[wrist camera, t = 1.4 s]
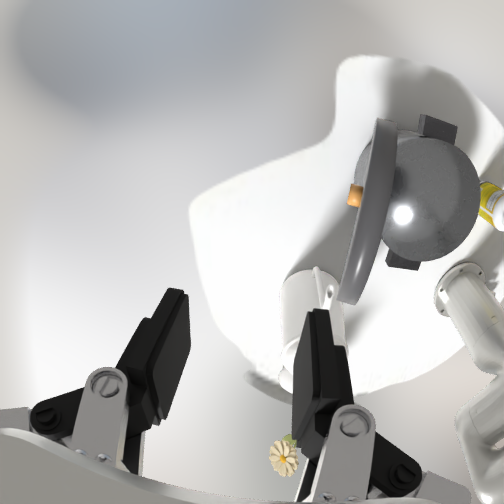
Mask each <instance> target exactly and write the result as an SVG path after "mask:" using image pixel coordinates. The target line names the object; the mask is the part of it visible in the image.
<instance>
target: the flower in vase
mask: <svg viewBox="0 0 504 504" xmlns="http://www.w3.org/2000/svg"><path fill="white" fill-rule="evenodd" d="M278 380H279V382H280V384H281V386H282V387H283V388H284V389H285V390H287V391H288V392H290V393H292V394H293V374H291V373H290V372H289V370H287V369H286V368H285V367H284V368H283V369H282V370H281V371H280V373H279V376H278ZM296 442H297V440H292V435H291V434H288V435H286V436H285V437H284V438H283V439H282V441H275V443H274V445H275V447H274V446H271V447H270V449H271V450H270V454H271V456H269V459H270V460H271V461H272V462H271V464H272V465H273V466H274V470H275V471H279V474H280V475H281V476H284V477H286V476H287V474H288V476H290V477H291V476H292V474H294V472H295V471H294V469H295V470H297V467H298V464H299V463H298V461H297V459H298V457H297V455H296V449H295V447H296ZM294 443H295V445H294V447H293V446H292V445H293V444H294Z"/></svg>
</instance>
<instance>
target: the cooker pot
mask: <svg viewBox="0 0 504 504" xmlns="http://www.w3.org/2000/svg"><path fill="white" fill-rule="evenodd" d="M397 131H398V141H397V156H396V165H395V173H394V180H393V186H392V192H391V197H390V202H389V207H388V212H387V216H386V221H385V225H384V229H383V232H382V236H381V238H382V240H383V241H384V242H385V244H386V245H387V246H388V247H389V251H388V254H387V257H386V260H385V261H386V263H387V265H388V267H395V268H402V269H410V270H417V271H418V269H419V266H420V264H421V262H422V261H431V260H435V259H438V258H441V257H443V256H445V255H447V254H449V253H450V252H452V251H453V250H454V249H456V248H457V247H458V246H459V245H460V244H461V243H462V242H463V241H464V240H465V239H466V237H467V236H468V235H469V233H470V231H471V230H472V228H473V226H474V224H475V222H476V219H477V216H478V213H479V208H480V202H481V189H480V182H479V178H478V175H477V172H476V169H475V167H474V165H473V164H472V162H471V160H470V159H469V158H468V157H467V155H466V154H465V153H464V152H463V151H461V150H460V149H459V148H457V147H456V146H454V143H455V138H456V132H457V126H455V125H452V124H449V123H447V122H444V121H441V120H438V119H436V118H433V117H430V116H427V115H422V114H420V121H419V127H418V133H416V132H413V131H408V130H397ZM371 144H372V141H371V142H370V143H369V144H368V146H367V147H366V148H365V149H364V151H363V152H362V154H361V156H360V158H359V160H358V163H357V166H356V170H355V177H354V184H355V185H359V186H363V184H364V179H365V174H366V169H367V164H368V159H369V154H370V149H371Z"/></svg>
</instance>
